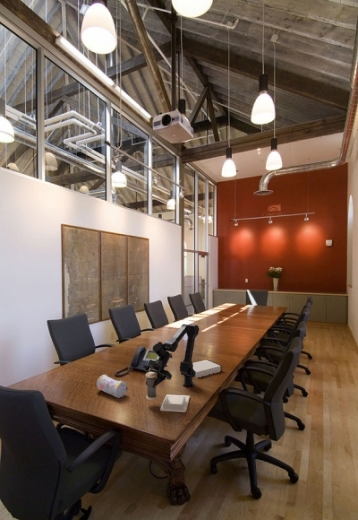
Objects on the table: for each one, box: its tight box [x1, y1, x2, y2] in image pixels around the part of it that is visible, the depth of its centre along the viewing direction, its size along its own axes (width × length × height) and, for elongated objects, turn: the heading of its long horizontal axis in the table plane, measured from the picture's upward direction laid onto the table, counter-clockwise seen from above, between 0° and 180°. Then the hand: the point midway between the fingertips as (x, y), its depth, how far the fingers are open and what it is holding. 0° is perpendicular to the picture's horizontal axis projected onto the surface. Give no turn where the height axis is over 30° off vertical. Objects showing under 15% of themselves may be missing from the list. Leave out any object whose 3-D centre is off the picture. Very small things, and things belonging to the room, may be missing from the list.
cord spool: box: [145, 372, 158, 401], centre depth 154 cm, size 6×6×13 cm
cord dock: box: [159, 394, 191, 413], centre depth 155 cm, size 17×14×4 cm
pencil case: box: [96, 374, 128, 399], centre depth 170 cm, size 21×9×10 cm, turn 53°
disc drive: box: [192, 358, 223, 379], centre depth 205 cm, size 18×22×5 cm
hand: (149, 386), depth 153 cm, fingers closed on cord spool, 5 cm apart
